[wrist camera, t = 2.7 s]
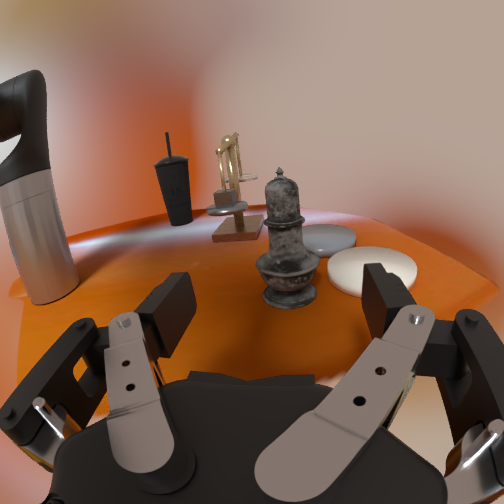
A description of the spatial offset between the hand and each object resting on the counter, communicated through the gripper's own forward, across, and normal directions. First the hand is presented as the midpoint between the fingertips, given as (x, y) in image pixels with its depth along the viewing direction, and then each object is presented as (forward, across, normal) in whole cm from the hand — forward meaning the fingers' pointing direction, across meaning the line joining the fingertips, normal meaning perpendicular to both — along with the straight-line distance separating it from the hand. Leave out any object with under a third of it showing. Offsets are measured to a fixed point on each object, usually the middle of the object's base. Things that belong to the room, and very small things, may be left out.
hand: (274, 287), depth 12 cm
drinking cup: (+42, +24, +8) cm, 49 cm away
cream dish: (+15, -9, +8) cm, 19 cm away
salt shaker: (+12, 0, +8) cm, 15 cm away
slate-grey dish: (+25, -4, +8) cm, 27 cm away
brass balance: (+33, +9, +8) cm, 35 cm away
